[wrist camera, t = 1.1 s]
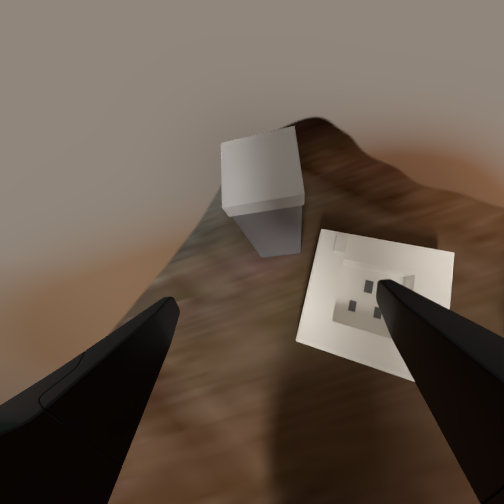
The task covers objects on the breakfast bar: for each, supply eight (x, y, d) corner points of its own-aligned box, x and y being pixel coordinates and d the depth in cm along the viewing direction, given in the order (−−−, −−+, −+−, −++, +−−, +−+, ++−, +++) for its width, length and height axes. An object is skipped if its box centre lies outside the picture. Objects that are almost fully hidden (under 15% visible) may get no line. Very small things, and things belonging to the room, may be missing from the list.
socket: (425, 381, 17) (447, 394, 14) (295, 337, 20) (295, 341, 18) (437, 258, 19) (458, 251, 17) (319, 236, 22) (321, 226, 20)
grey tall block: (301, 253, 22) (304, 194, 11) (260, 258, 23) (222, 207, 11) (296, 216, 24) (294, 125, 12) (258, 221, 24) (220, 143, 13)
